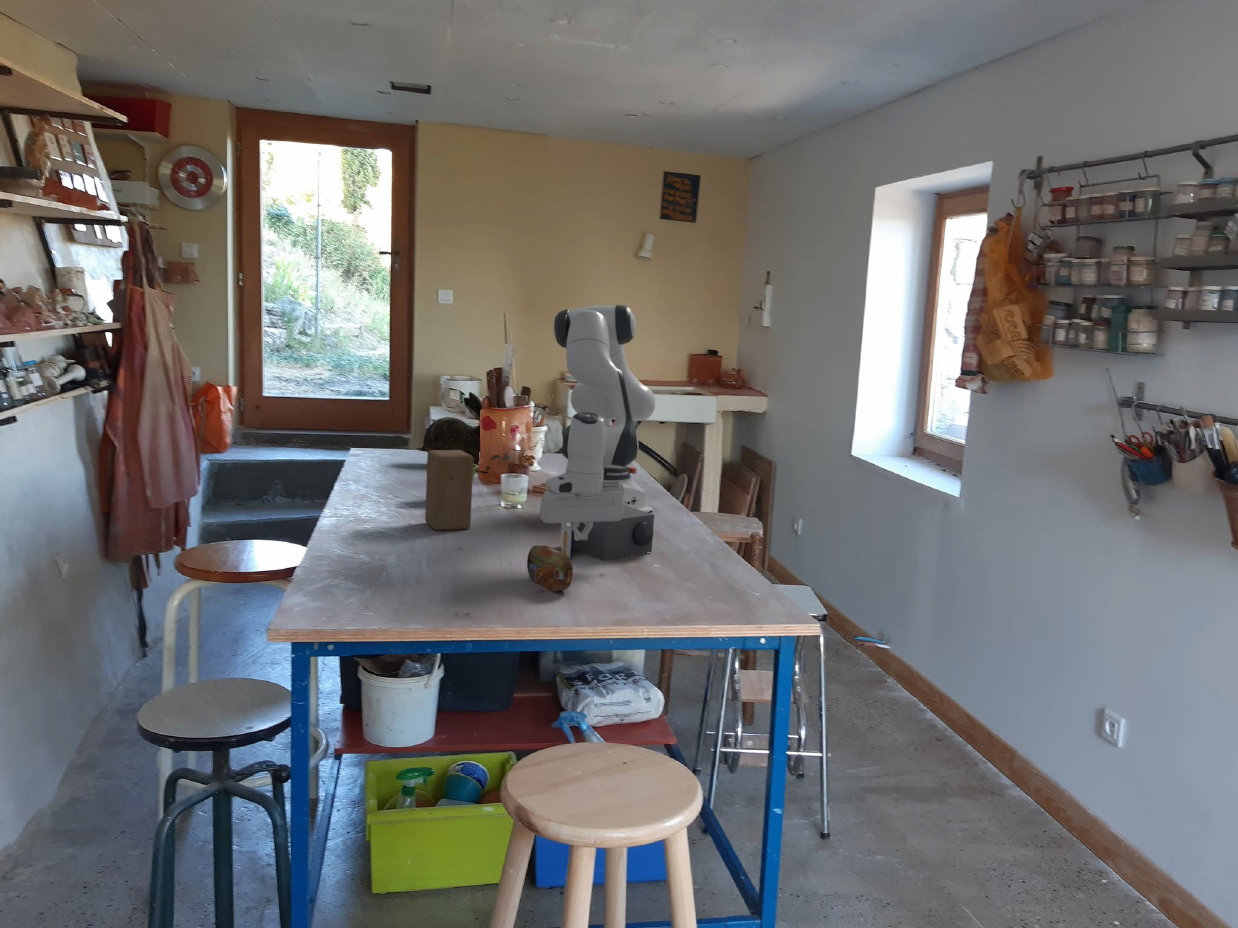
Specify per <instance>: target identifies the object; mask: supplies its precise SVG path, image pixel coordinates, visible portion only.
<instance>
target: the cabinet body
mask: <svg viewBox="0 0 1238 928" xmlns="http://www.w3.org/2000/svg"><path fill="white" fill-rule="evenodd" d="M623 508H624V515H623V518H622V519H621V521H608V522H593V527H592V529H591V530H590V532H589V533H588V539H587V540H585V541H576V540H575V539H574V531H573V529H572V533H571V550H575V551H577V552H580V553H582V554H585V555H588V556H590V557H592V558H595V559H597V558H598V559H597V560H600V561H609V560H615V558H617V559H622V558H621V557H623V558H628V557H627V556H629V557H632V556H631V555H635V556H638V555H637V554H641V555H644V554H643V553H647V552H651V553H652V549H653V539H654V538H653V537H654V525H655V521H654V520H655V514H654V513H652V512H649V513H648V512H644V511H641V510H638V509H635V508H631V507H628V506H625V505H623ZM585 526H586V525H585V524H584V522H579V527H577V529H578V531H579V532H583V530H584V528H585ZM647 554H648V553H647Z"/></svg>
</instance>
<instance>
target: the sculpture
mask: <svg viewBox="0 0 1238 928" xmlns="http://www.w3.org/2000/svg"><path fill="white" fill-rule="evenodd" d="M463 402H464V406H465V407H466V408H467V410H468V411H469V412H470V414H471V415H473V416H474V418H476V419H477V420H479V421H480V410H481V409H482V405H483V402H482V400H481V399H480V398H479V397H478V396H477V395H476V394H474V393H473V392H471V391H469V392H468V397H464V398H463ZM483 406H484V405H483ZM422 444H423V446H422V447H417V448H416V450H417V451H418V452H426V453H428V452H429V451H431V450H461V451H464V452H465V453H467V454H469V455H471V456H472V457H473V464H476V465H477V466H478V465H479V464H478V462H479V452H480V424H478V425H477V426H471V425H469V424H468V423H466V422H465V421H463V420H461V419H460V418H457V417H452V416H444V417H441V418H439V419H436V420H435V421H433V422H432V423H431V424H430V425H429V426H428V428H427V429H426V432H425V434H424V437H423V443H422Z"/></svg>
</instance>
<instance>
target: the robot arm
mask: <svg viewBox="0 0 1238 928" xmlns="http://www.w3.org/2000/svg"><path fill="white" fill-rule="evenodd" d="M552 329H553V331H552V332H553V335H554V337H555V340H556V343H557V345H558V346H560V347H561V348H564V349H565V360H566V361H565V363H566V369H567V371H568V373H569V375H570V376H571V377H572V378H573V379H574V380H575V381H577V383H576V384H575V385H574V386H573V388H572V390H571V393H570V404H571V405H570V406H571V407H572V409H573V410H574V411H575V414H573V416H572V417H571V421H570V424H569V425H568V426H566V427H565V428H564V429H563V430H562V432H561V434H562V443H561V445H562V447H561V451H560V453H561V455H562V456H563V457H565V459H566V460H567V465H566V468H565V473H562V474H560V475H556V476H553V477H550V478H548V479H546V480H545V482H544V483H545V484H544V485H545V488H546V490H545V491H544V492H543V494H542V497H541V500H540V501H541V502H540V506H539V507H540V508H539V518H540V520H542V522H543V523H545V524H548V525H549V524H561V523H570V525H571V527H572V529H573V531H574V539H575V540H576V541H585V540H587V539H588V533H589V532H590V530H591V529H592V527H593V522H608V521H621V519H622V518H623V515H624V508H623V505H625V506H628V507H631V508H635V509H638V510H641V511H644V512H649V513H651V512H650V511H653V512H654V507H652V506H650V505H649V504H647V499H646V498H647V496H646V492H645V489H643V488H642V487H641V486H639V484H638V483H637V482H635V480H633V479H632V478H631V477H632V476H631V474H633V475H636V474H637V472H638V469H637V467H633V466H630V467H629V465H630V464H631V463H633V462H634V461H635V460H637V457H638V454H639V445H640V443H639V439H638V436H637V432H636V428H635V425H634V424H635V423H634V422H640V421H646V420H648V419H649V418H650V417H651V416H652V414H653V413H654V411H655V408H656V397H655V395H654V392H653V391H652V390H651V388H649V387H648V386H646V385H645V384H643V383H642V382H641V381H640V380H638V379H637V377H636V376H635V375H634V374H633V373H632V371H631V369H630V368H629V365H628V363H627V359H626V356H625V349H624V345H626V344H628V343H630V342H631V341H632V340H633V339H634V336H635V333H636V329H637V322H636V317H635V314H634V313H633V310H632V309H631V308H630V307H629V306H627V305H623V304H616V305H609V304H608V305H606V304H605V305H603V304H601V305H591V306H585V307H578V308H573V309H571V308H566V309H564V310H560V311H559V312H557V314H556V315H555V317H554V322H553V327H552ZM612 420H614V422H615V424H613V421H612ZM579 522H584V524H585V525H586V526H585V528H584V530H583V532H579V531H578V529H577V527H579Z"/></svg>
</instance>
